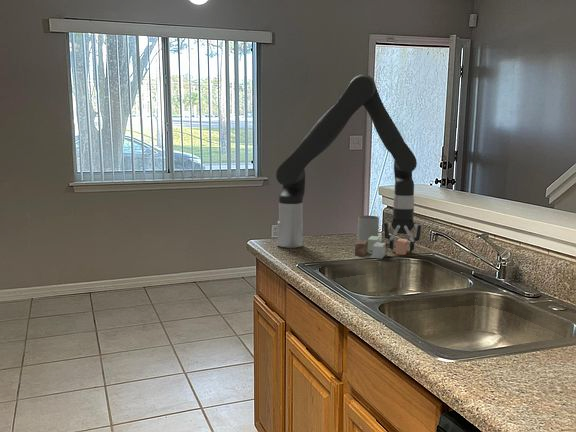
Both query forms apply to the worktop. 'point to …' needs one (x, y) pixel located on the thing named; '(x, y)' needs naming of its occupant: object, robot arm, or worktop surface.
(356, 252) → the walnut brick
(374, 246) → the grey brick
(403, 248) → the terracotta brick
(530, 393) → the worktop surface
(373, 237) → the sage brick
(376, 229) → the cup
